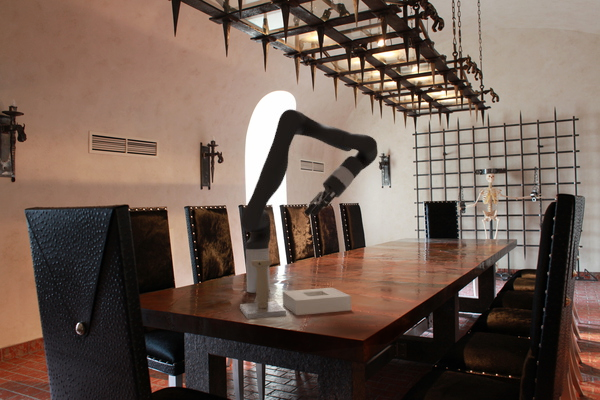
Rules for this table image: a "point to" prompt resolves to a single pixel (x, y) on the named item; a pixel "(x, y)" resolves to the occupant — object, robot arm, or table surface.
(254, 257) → the chalice
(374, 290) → the table surface
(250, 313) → the white flat slab
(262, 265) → the handle
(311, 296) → the socket block
